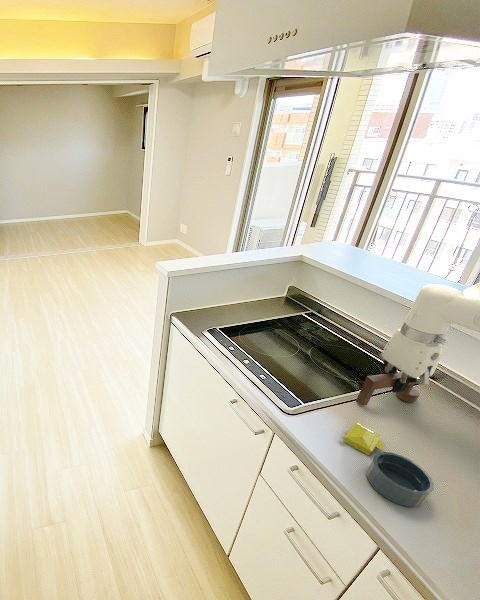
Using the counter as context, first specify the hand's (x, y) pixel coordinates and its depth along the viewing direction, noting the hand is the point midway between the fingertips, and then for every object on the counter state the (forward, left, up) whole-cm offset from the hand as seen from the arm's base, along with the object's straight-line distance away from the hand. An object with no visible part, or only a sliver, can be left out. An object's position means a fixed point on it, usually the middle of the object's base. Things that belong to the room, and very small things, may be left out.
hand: (392, 387), depth 91 cm
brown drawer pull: (0, 0, -5) cm, 5 cm away
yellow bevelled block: (+18, +11, -5) cm, 22 cm away
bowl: (+21, +22, -5) cm, 31 cm away
